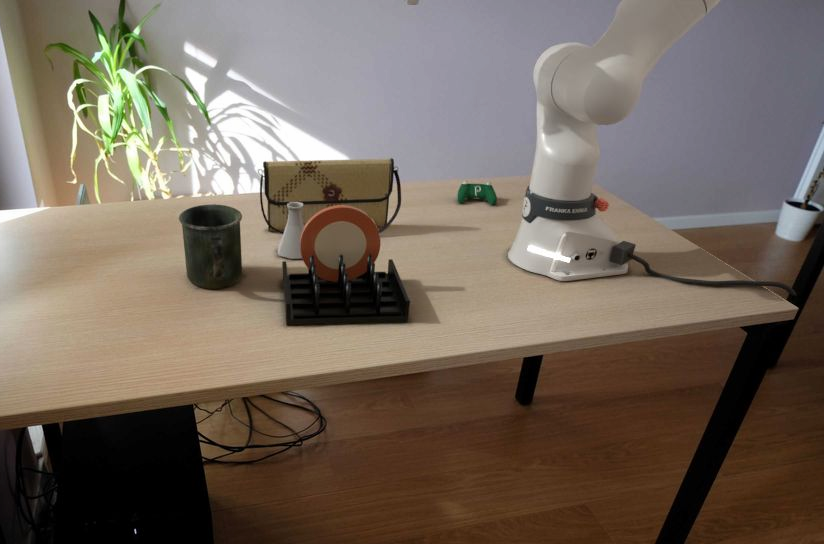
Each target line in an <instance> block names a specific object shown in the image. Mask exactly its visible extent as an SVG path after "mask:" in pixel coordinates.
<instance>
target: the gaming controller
mask: <svg viewBox="0 0 824 544" xmlns="http://www.w3.org/2000/svg"><path fill="white" fill-rule="evenodd" d="M468 181H469V180H464V181H463V182H462V183H461V184H460V186H459V188H458V191H457V202H458V203H459V204H464V203H465V201H466V200H467V199H468V200H472V199H477V200H481V201H484V200H486V201H487V202H488V204H489V205H491V206H496V205H497V202H498V197H497V193H496V191H495V189H494V187H493V185H492V182H491V181H486V184H485V183H469V182H468Z"/></svg>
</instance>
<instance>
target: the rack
mask: <svg viewBox="0 0 824 544" xmlns="http://www.w3.org/2000/svg"><path fill="white" fill-rule="evenodd" d="M371 260H372V255H371V254H368V259H367V272H365V273H364V274H363V275H361V276H359V277H357V278H355V279H352V280H349V281H348V273H345V267H346V265H345V264H344V263H343V255H342V254H341V255H339V271H338V282H333V281H328V280H324V279H322V278H320V277H318V275H317V274H316V265H315V264H314V255H311V256H310V270H309V269H308V268H307V270H308V271H307V272H300V273H299V272H298V273H296V272H295V273H289V274H288V265H287V261H285V260H284V261H283V260H282V261H281V263H282V264H281V265H282V269H281V270H282V271H281V273H282V290H283V291H282V292H283V301H284V303H283V305H284V313H285V314H284V316H285V324H286V325H285V326H287V327H289V326H290V327H291V326H293V327H294V326H323V325H324V326H325V325H326V326H327V325H358V324H360V325H361V324H362V325H363V324H396V323H397V324H398V323H409V317H410V306H411V300H410V298H409V295H408V293H407V291H406V288H405V285H404V284H403V281H402V278H401V277H400V273H399V272H398V269H397V266H396V265H395V262H394V260H393V259H390V258H389V259H388V261H387V262H388V263H387V264H388V265H387V272H386V271H375V270H376V269H375V268H376V263H375V262H374V263H371Z"/></svg>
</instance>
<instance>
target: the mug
mask: <svg viewBox="0 0 824 544" xmlns="http://www.w3.org/2000/svg"><path fill="white" fill-rule="evenodd" d="M242 219H243V215H242V212H241V211H239V209H238V208H234V207H233V206H229V205H225V204H201V205H200V204H199V205H196V206H192V207H189V208H187V209H184V210H183V211H182V212H181V213H180V214H179V216H178V221H179V223H180V224H181V227H182V238H183V239H182V240H183V251H184V260H185V261H184V262H185V270H186V278H187V280H188V281H189V282H190V283H191V285H194V286H196V287H198V288H202V289H207V290H209V289H210V290H216V289H217V290H219V289H223V288H228V287H231V286H233V285H235V284H237V283H239V281H240V279H241V278H242V277H243V259H242V237H241V221H242Z"/></svg>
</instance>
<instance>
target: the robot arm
mask: <svg viewBox="0 0 824 544" xmlns="http://www.w3.org/2000/svg"><path fill="white" fill-rule="evenodd" d="M419 1H420V0H404V2H405V4H407V5H408V6H417V5H418V4H419V3H420V2H419ZM721 1H722V0H621V1H620V2H619V4H618V5H617V7H616V8H615V15H614V18H613V19H612V21H611V22H610V24H609V25H608V27H607V29H606V30H605V32H603V34H602V36H601V37H599V39H598V40H597V41H596V42H595V43H593V44H591V45H587V44H584V43H581V42H577V41H574V42H573V41H571V42H562V43H558V44H555V45H552V46H550V47H549V48H547V49H546V50H545V51H544V52H542V53H541V55H540V56H539V57H538V58H537V61H535V64H534V68H533V71H532V72H533V73H532V81H533V85H534V88H535V93H536V144H535V153H534V158H533V159H534V160H533V163H532V170H531V176H530V181H529V185H528V186H527V187H526V189H525V194H524V199H523V202H522V209H521V221H520V224H519V227H518V230H517V232H516V235H515V238H514V240H513V243H512V245H511V247H510V248H509V250H508V253H507V257H508V259H509V261H510V262H512V264H513V265H515V266H517V267H518V268H520V269H523V270H525V271H528V272H531V273H535V274H539V275H542V276H546V277H548V278H551V279H553V280H555V281H559V282H569V281H578V280H579V281H580V280H584V279H586V280H587V279H595V278H601V277H602V278H603V277H610V276H618V275H624V274H625V275H626V274H627V273H628V271H629V264H628V262H630V261H631V260H633V261H635V262H638V263H639V264H641V266H643V267H644V271H645V272H646V273H647V274H649V275H651V276H653V277H657V278H661V279H664V280H665V279H666V280H670V281H673V282H678V283H682V284H690V285H699V286H709V287H710V286H711V287H720V286H751V287H775V288H780V289H783V290H785V291H786V292H787V293H788V294H789V295H790V296H797V292H796V291H795V290H794V289H793V288H792V287H791V286H790V285H788V284H785V283H783V282H779V281H768V280H767V281H765V280H764V281H761V280H760V281H757V280H743V279H741V280H739V279H738V280H735V279H733V280H703V279H696V278H684V277H677V276H671V275H667V274H664V273H663V274H662V273H660V272H657V271H655V270H653V269H651V267H650V264H649V262H647V261H646V260H645V259H644V258H641V257H639V256H637V255H636V254H634V252H635V249H636V246H637V245H636V243H632V242H630V241H626V240H623V241H620V240H619V239H620V238H619V236H618V234H617V233H616V232H615V230H614V229H613V228H612V227H611V226H610V225H609V224H608V223H607V222H606V221H605V220H604V219H603V218H602V217H601V216H599V214H597V211H596V210H598V211H599V212H606V211H607V210H608V209H609V207H610V206H609V205H610V203H609V201H607V200H605V199H604V198H602V197H600V198H599V196H597V195H596V194H594V193H593V192H592V191H593V187H594V182H595V179H596V174H597V170H598V166H599V163H600V162H599V161H600V157H601V149H600V144H599V141H598V135H597V126H611V125H615V124H617V123H619V122H621V121H623V120H624V119H626V118H627V117H628V116H629V115H630V114H631V113H632V112H633V111H634V109H635V108H636V107H637V105H638V103H639V102H640V98H641V96H642V95H641V94H642V86H643V83H644V82H645V81H646V79H647V77H648V76H649V74H650V73H651V71H652V70H653V68H654V67H655V65H656V64H657V63H658V62H659V60H660V59H661V58H662V57H663V56H664V55H665V53H666V52H668V50H669V49H671V47H672V46H674V44H676V43H677V42H678V41H679V40H680V39H681V38H682V37H683V36H685V34H686V33H688V32H689V31H690V30H691V29H692V28H693V27H694V26H695V25H696V24H697V23H698V22H700V21H701V20H702V19H703V18H704V17H705V16H706V15H707V14H709V13H710V12H711V11H712V10H713V9H714V8H715V7H716V6H717V4H719V3H720V2H721Z"/></svg>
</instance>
